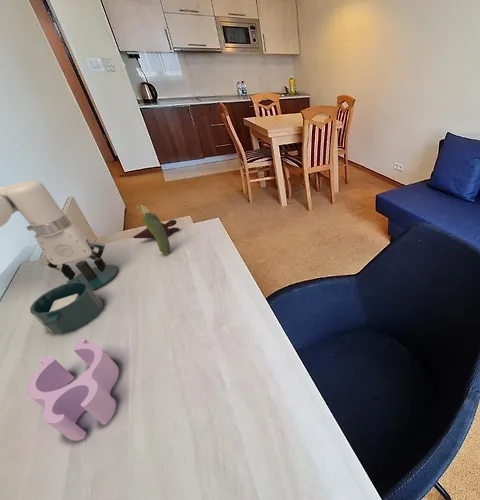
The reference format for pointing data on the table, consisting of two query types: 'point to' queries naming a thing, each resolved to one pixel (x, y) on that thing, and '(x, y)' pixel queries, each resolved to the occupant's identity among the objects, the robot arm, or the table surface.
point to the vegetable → (155, 229)
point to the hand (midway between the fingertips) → (88, 273)
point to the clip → (75, 390)
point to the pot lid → (95, 274)
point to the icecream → (148, 234)
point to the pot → (67, 307)
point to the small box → (64, 302)
